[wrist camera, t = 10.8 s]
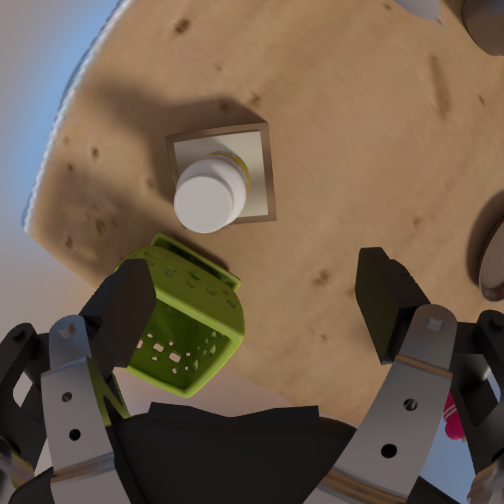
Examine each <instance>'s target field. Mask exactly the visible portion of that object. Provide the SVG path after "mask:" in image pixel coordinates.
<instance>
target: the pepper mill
mask: <svg viewBox="0 0 504 504" xmlns="http://www.w3.org/2000/svg"><path fill="white" fill-rule="evenodd" d="M443 412H444V413H443V418H444V421H445V422H447V424H446V427H445V431H446V434H447V436H448V437H449V438H451V439H454V440H457V439H461V438H462V442H463V443H467V440H466V437H465V433H464V430H463V427H462V424H461V421H460V418H459V415H458V412H457V409H456V406H455V403H454V400H453V398H452V395H451V392H450V390H449V393H448V397H447V400H446V404H445V407H444V410H443Z"/></svg>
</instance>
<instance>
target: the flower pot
mask: <svg viewBox="0 0 504 504" xmlns="http://www.w3.org/2000/svg"><path fill="white" fill-rule="evenodd" d="M137 258H144V259H145V260H146V261H147V263H148V267H149V270H150V274H151V277H152V281H153V284H154V288H155V291H156V297H157V301H156V307H155V309H154V311H153V313H152V315H151V317H150V319H149V321H148V323H147V326H146V328H145V330H144V332H143V334H142V336H141V338H140V340H142V341H143V344H142V347H141V348H140V349H138V348H136V349H135V351H134V354H133V356H132V358H131V360H130V363H129V365H128V367H127V368H122V367H121V368H122V369H124V370H126V371H128V372H129V373H131V374H133V375H135V376H137V377H139V378H141V379H143V380H145V381H146V382H149V383H151V384H153V385H155V386H157V387H159V388H161V389H163V390H166V391H168V392H171V393H173V394H175V395H178V396H181V397H184V398H189V397H191V396H192V395H194V394H195V393H196V392H197V391H198V390H199V389H201V388H202V387H203V386H204V385H205V384H206V383H207V382H208V381H209V380H210V379H211V378H212V377H213V376H214V375H215V374H216V373H217V372H218V371H219V370H220V368H222V366H223V365H224V364H225V363H226V362H227V361H228V360H229V358H230V357H231V356H232V354H233V353H234V352H235V351H236V349H237V348H238V347H239V345H240V344H241V342H242V341H243V339H244V337H245V321H244V314H243V309H242V306H241V303H240V301H239V299H238V297H237V295H236V294H235V292H236V290H237V289H238V288H239V286H240V284H241V280H240V279H239V278H238V277H237V276H235V275H233V274H232V273H230V272H229V271H227V270H225V269H224V268H222V267H220V266H219V265H217V264H215V263H214V262H212V261H210V260H209V259H207V258H205V257H203V256H202V255H200V254H198V253H197V252H195V251H193V250H192V249H190V248H188V247H187V246H185V245H183V244H182V243H180V242H178V241H177V240H175V239H173V238H172V237H170V236H168V235H166V234H164V233H162V232H158V233H157V234H156V235H155V237H154V239H153V241H152V242H151V244H150V246H147V247H143V248H140V249H138V250H136V251H134V252H132V253H131V254H129V255H128V256H126V257H125V258H124V259H123V260H122V261H121V262H120V263H119V264H118V265H117V266H116V267H115V269H114V271H113V273H114V272H116V270H117V269H118V268H119V267H120V265H121V264H122V263H123V262H124V260H126V259H137ZM113 273H112V274H113ZM147 334H151V335H152V336H153V337H152V338H150V337H148V336H147ZM215 334H216V335H215ZM222 334H223V337H222ZM214 336H215V337H214ZM171 341H172V342H173V345H172V346H170V345H169V342H171ZM156 343H157V344H159V345H161V346H163V347H164V349H163V351H162V352H159V351H157V350H156V349H154V348H153V346H154V345H155V344H156ZM214 350H215V352H214ZM213 352H214V353H213ZM171 353H175V354H177V355H178V356H180V357H181V359H180V361H179V362H178V363H177V362H174V361H173V360H171V359H170V358H169V356H170V354H171ZM186 353H190V354H191V355H190V356H187V355H186ZM152 357H157V361H155V360H152ZM197 364H198V367H197V369H196V366H197ZM186 366H187V367H188V370H185V367H186ZM173 368H175V369H176V371H177V373H176V374H174V373H173V371H172V369H173Z"/></svg>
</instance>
